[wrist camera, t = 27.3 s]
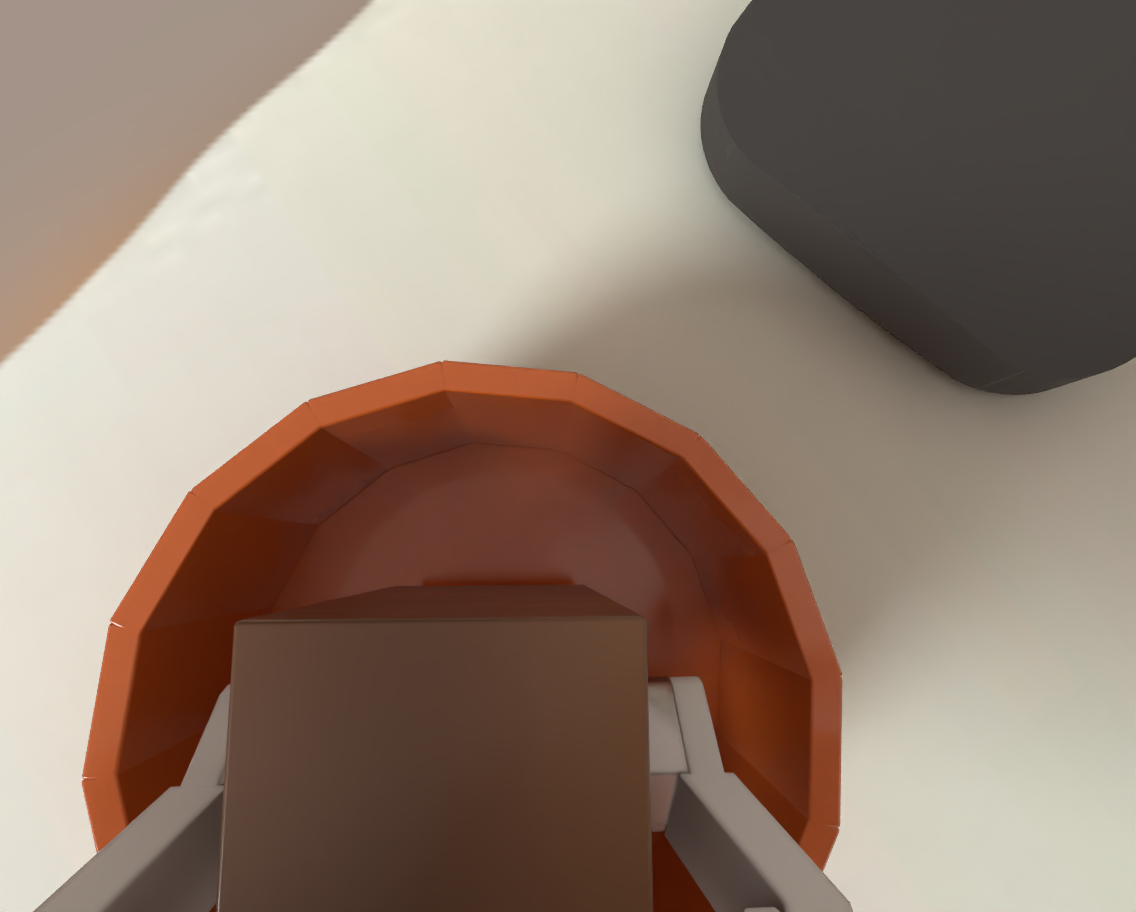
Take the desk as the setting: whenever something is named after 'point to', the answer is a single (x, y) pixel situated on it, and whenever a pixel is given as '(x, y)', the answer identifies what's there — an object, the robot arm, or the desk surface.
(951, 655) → the desk surface
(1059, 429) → the desk surface
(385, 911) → the block
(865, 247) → the media streaming box
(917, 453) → the desk surface
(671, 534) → the pan
